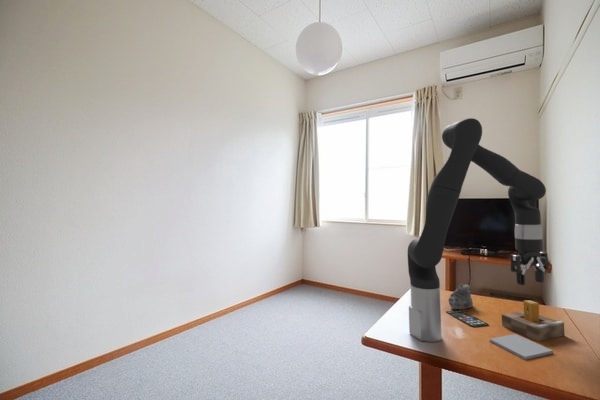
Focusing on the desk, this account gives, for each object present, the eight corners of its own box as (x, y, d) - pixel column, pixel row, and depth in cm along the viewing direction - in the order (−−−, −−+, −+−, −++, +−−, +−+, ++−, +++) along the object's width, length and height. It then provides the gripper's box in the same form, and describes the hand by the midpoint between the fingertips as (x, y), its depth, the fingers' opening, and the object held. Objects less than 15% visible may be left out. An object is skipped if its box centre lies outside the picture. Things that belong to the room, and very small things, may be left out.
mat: (525, 359, 79) (524, 356, 79) (489, 341, 90) (489, 338, 90) (552, 353, 82) (552, 350, 82) (515, 336, 93) (515, 333, 93)
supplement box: (541, 332, 95) (539, 303, 95) (531, 332, 95) (530, 303, 95) (532, 327, 98) (531, 299, 98) (523, 328, 98) (522, 300, 98)
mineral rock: (451, 312, 114) (450, 288, 114) (438, 303, 124) (437, 280, 125) (482, 311, 114) (481, 287, 114) (466, 302, 125) (465, 279, 125)
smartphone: (460, 309, 116) (490, 324, 101) (460, 311, 116) (490, 326, 101) (444, 311, 114) (472, 326, 100) (444, 313, 114) (472, 328, 100)
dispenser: (537, 341, 89) (537, 326, 89) (502, 325, 101) (501, 312, 101) (564, 335, 92) (564, 321, 92) (526, 320, 104) (526, 308, 104)
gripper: (524, 239, 91) (526, 288, 91) (555, 236, 95) (557, 284, 95) (502, 237, 99) (504, 282, 98) (532, 234, 102) (534, 278, 102)
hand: (530, 283), depth 96 cm, fingers open, 8 cm apart
